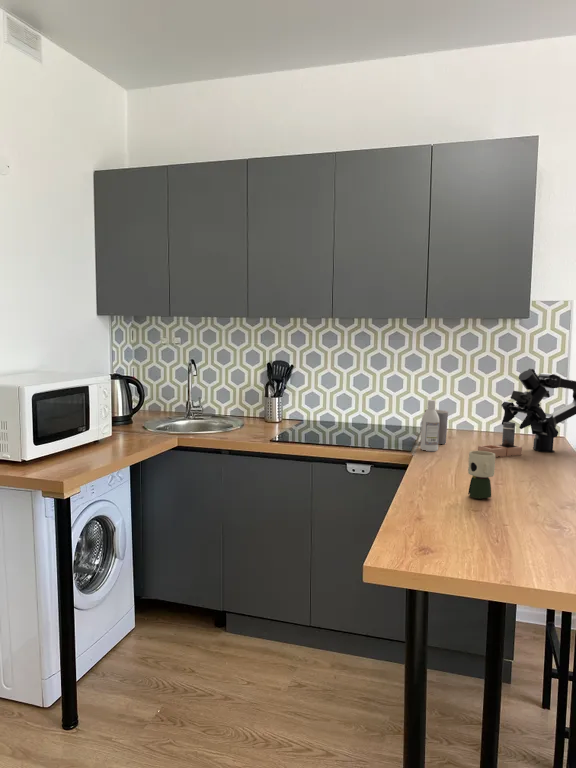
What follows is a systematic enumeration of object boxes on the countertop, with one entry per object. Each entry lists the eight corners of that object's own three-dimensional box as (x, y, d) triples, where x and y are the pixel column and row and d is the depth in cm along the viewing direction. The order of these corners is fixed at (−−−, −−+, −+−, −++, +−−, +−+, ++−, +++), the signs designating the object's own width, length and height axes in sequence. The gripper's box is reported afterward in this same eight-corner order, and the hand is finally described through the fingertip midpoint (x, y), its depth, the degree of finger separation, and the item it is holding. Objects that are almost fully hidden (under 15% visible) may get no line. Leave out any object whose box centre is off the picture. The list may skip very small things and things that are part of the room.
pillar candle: (418, 442, 253) (420, 407, 252) (430, 439, 260) (432, 405, 259) (438, 446, 246) (440, 410, 245) (450, 443, 253) (452, 408, 252)
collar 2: (507, 451, 240) (507, 443, 240) (521, 454, 233) (521, 447, 233) (493, 452, 237) (493, 444, 236) (507, 455, 230) (507, 448, 230)
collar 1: (492, 452, 236) (492, 444, 236) (506, 456, 230) (506, 448, 229) (477, 453, 233) (478, 445, 233) (491, 457, 227) (491, 449, 226)
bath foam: (441, 451, 236) (444, 400, 234) (428, 452, 233) (431, 401, 231) (429, 447, 242) (432, 398, 240) (416, 449, 239) (418, 399, 237)
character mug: (461, 492, 175) (463, 448, 174) (485, 493, 175) (487, 449, 174) (473, 503, 164) (476, 456, 163) (498, 503, 164) (501, 457, 163)
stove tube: (507, 451, 238) (509, 421, 237) (515, 453, 234) (518, 423, 233) (498, 452, 236) (500, 422, 235) (507, 454, 232) (509, 423, 231)
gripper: (506, 381, 243) (483, 409, 240) (542, 386, 227) (519, 416, 223) (519, 400, 247) (497, 427, 244) (556, 406, 231) (533, 435, 227)
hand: (511, 426), depth 234 cm, fingers open, 9 cm apart
